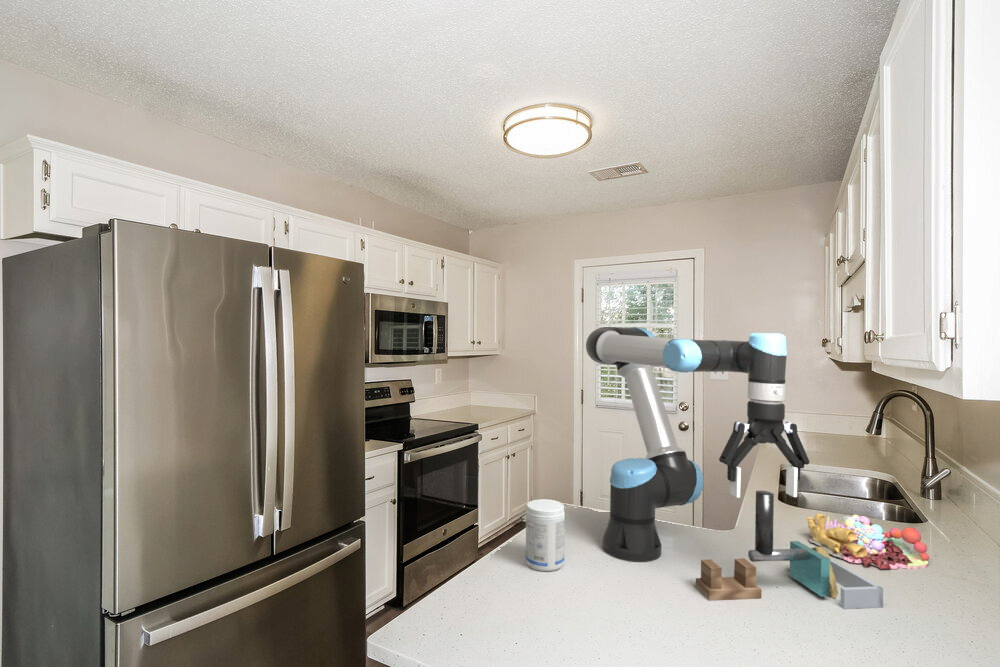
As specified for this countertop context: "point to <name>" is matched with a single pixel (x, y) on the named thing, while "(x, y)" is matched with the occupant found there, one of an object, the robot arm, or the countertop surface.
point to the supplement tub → (545, 534)
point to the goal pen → (856, 589)
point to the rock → (832, 586)
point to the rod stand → (728, 581)
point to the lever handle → (788, 550)
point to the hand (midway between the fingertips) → (763, 495)
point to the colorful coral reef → (868, 542)
